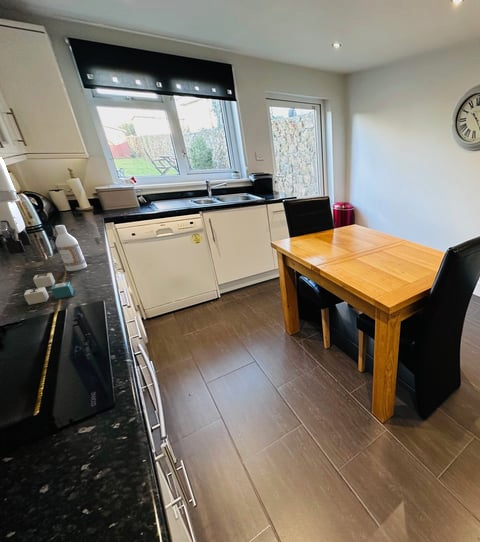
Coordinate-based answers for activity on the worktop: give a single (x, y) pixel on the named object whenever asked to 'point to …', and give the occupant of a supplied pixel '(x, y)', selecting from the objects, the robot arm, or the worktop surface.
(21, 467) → the worktop surface
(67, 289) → the tile
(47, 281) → the tile
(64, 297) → the slot pad
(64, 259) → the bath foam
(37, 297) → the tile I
